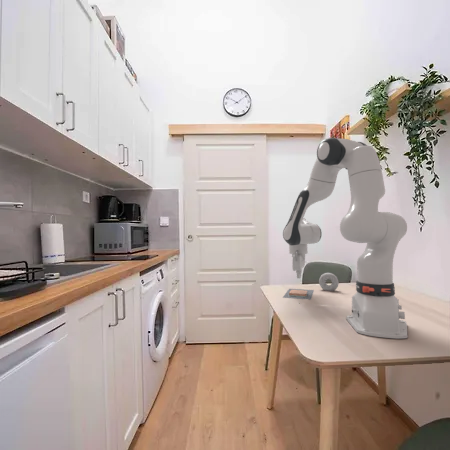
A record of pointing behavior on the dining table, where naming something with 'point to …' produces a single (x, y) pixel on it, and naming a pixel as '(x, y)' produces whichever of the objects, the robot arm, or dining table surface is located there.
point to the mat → (309, 296)
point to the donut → (332, 277)
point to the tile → (298, 293)
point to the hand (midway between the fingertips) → (299, 277)
